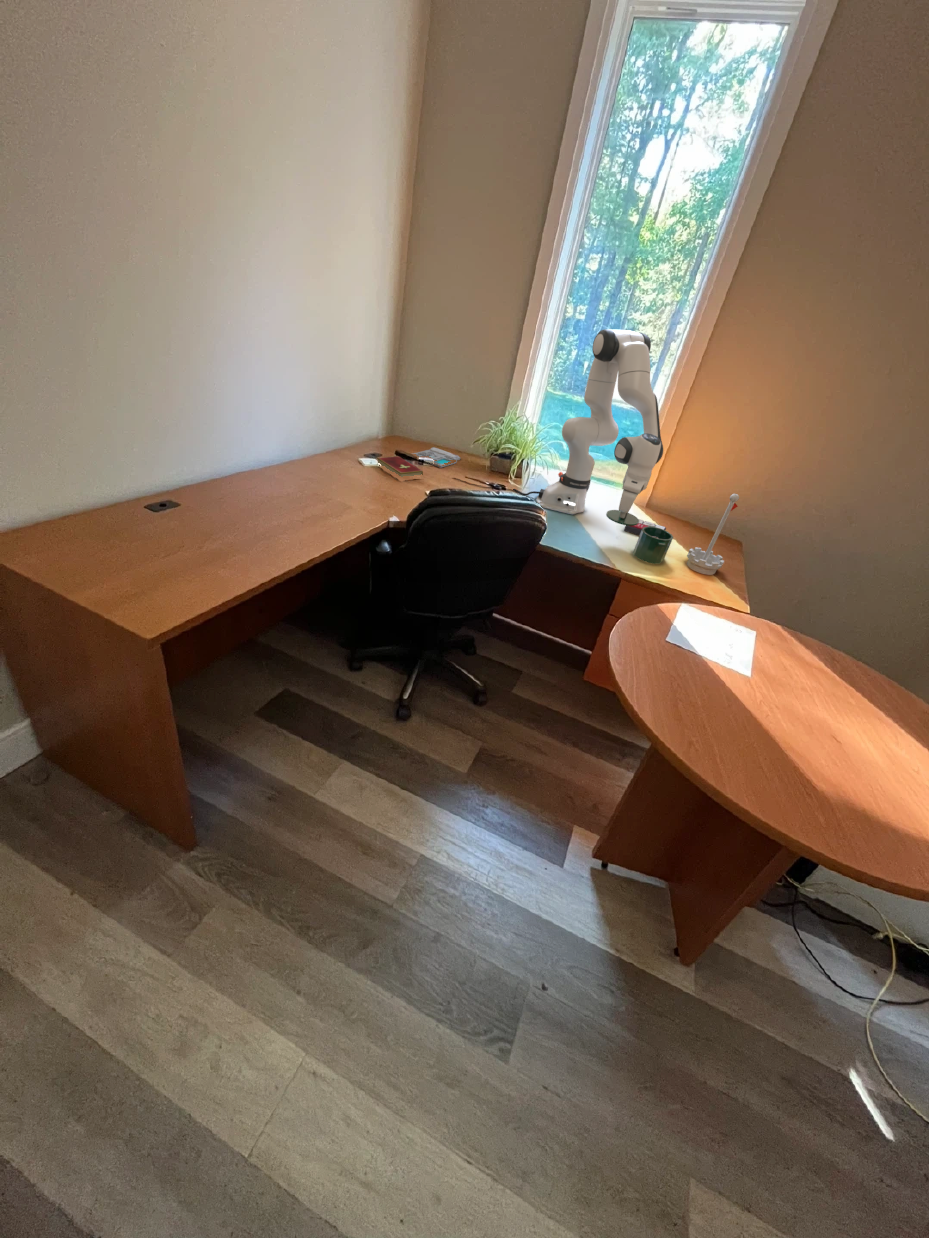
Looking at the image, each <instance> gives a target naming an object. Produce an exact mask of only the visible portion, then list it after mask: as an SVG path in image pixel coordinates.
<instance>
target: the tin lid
mask: <svg viewBox="0 0 929 1238" xmlns="http://www.w3.org/2000/svg"><path fill="white" fill-rule="evenodd" d="M605 515H606V518H607V519H608V520H610V521H612V522H613V523H616V524H619V525H623V526H626V525H628V526H634V525H637V524H638V523H639V519H640V518H638V517H637V516H636V515H634V514H632V513H630V512H628V513H626V516H625V518H621V517H620V515H621V511H619V509H610V510H607V511H606V512H605Z"/></svg>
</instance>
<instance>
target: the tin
mask: <svg viewBox="0 0 929 1238" xmlns="http://www.w3.org/2000/svg"><path fill="white" fill-rule="evenodd" d="M652 536H655V537H652ZM656 537H658V538H659V539H658V538H656ZM673 539H674V535H673V534H672V533H670V532H669V531H668V530H663V529H660V528H657V527H655V526H650V525H648V527H643V528H642V530H641V533H640V536H638V539H637V540H636V544H635V546H634V548H633V552H632V553H633V556H634V557H635V558H637V559H639V560H640V561H642V562H645V563H648V564H654V565H660V564H661V563H664V561H665V558H666V556H667V553H668V551H669V549H670V546H671V544H672V542H673Z"/></svg>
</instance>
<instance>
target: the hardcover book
mask: <svg viewBox="0 0 929 1238" xmlns="http://www.w3.org/2000/svg"><path fill="white" fill-rule="evenodd" d="M376 459H377V464H378V463H380V464H381V465H382V466H385V467H386V468H387V469H389V470H390V471H392V472H395V473H396V474H398V475H399V476H401V477H403V476H414V475H421V474H422V475H423V476H424V471H423V470H422V469H420V468H419V467H417V466H415V465H414V464H412V463H410V462H409V461H407V460H406V459H404V458H402V457H401V456H399V455H392V456H391V455H390V456H381V457H380V456H379V457H376ZM379 466H380V465H379Z"/></svg>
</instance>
